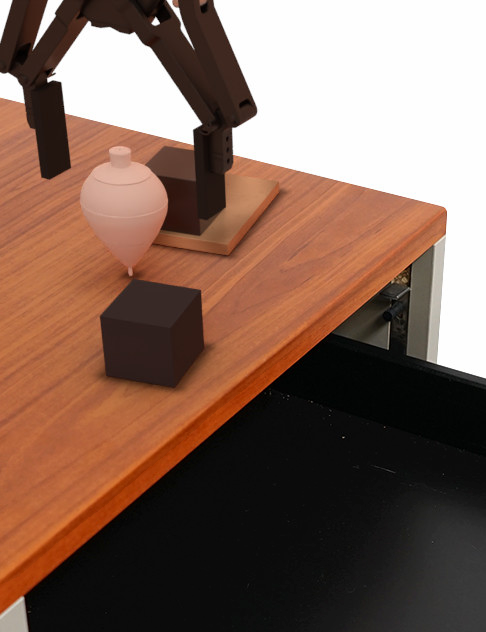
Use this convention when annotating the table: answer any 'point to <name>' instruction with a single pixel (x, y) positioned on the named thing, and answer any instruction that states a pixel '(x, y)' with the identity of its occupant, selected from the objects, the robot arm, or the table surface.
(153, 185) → the spinning top
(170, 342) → the black cube
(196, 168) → the robot arm
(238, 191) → the board
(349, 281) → the table surface
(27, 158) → the table surface
